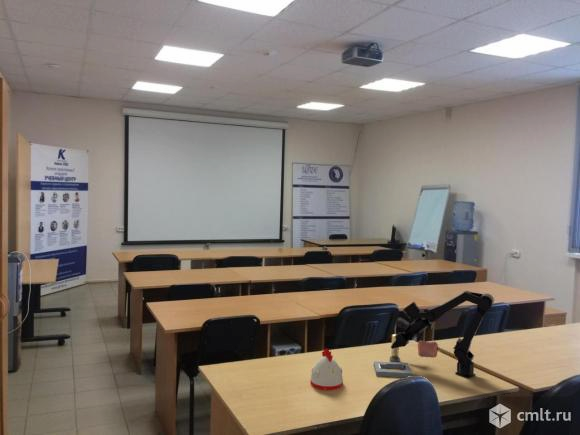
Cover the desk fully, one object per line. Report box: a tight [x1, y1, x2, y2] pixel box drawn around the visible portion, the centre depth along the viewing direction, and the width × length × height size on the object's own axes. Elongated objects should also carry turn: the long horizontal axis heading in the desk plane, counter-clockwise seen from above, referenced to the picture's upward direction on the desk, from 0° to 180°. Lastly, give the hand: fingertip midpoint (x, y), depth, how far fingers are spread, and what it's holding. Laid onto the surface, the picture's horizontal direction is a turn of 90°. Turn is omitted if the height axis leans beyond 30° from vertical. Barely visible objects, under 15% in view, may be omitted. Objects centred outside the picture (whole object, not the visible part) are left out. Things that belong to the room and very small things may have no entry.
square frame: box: [373, 360, 413, 378], centre depth 210 cm, size 16×13×2 cm
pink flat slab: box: [417, 340, 438, 359], centre depth 243 cm, size 27×10×2 cm, turn 162°
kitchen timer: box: [310, 348, 344, 391], centre depth 195 cm, size 14×14×15 cm
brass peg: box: [389, 333, 401, 363], centre depth 223 cm, size 5×5×13 cm
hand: (394, 345), depth 224 cm, fingers open, 9 cm apart
